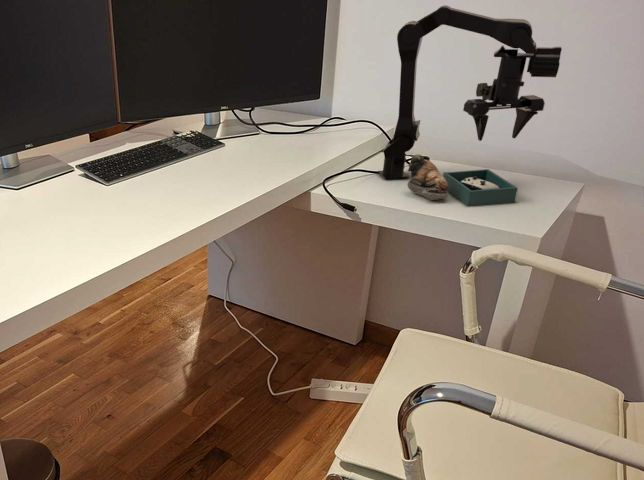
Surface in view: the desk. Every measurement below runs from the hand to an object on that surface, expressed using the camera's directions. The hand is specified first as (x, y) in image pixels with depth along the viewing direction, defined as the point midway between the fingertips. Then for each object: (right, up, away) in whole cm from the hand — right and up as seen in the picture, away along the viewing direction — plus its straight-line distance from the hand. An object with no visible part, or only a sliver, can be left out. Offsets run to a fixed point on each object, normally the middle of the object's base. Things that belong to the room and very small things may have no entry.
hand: (496, 139), depth 174 cm
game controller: (-5, -14, 0) cm, 15 cm away
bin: (-5, -14, 0) cm, 15 cm away
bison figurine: (-19, -15, +1) cm, 24 cm away
